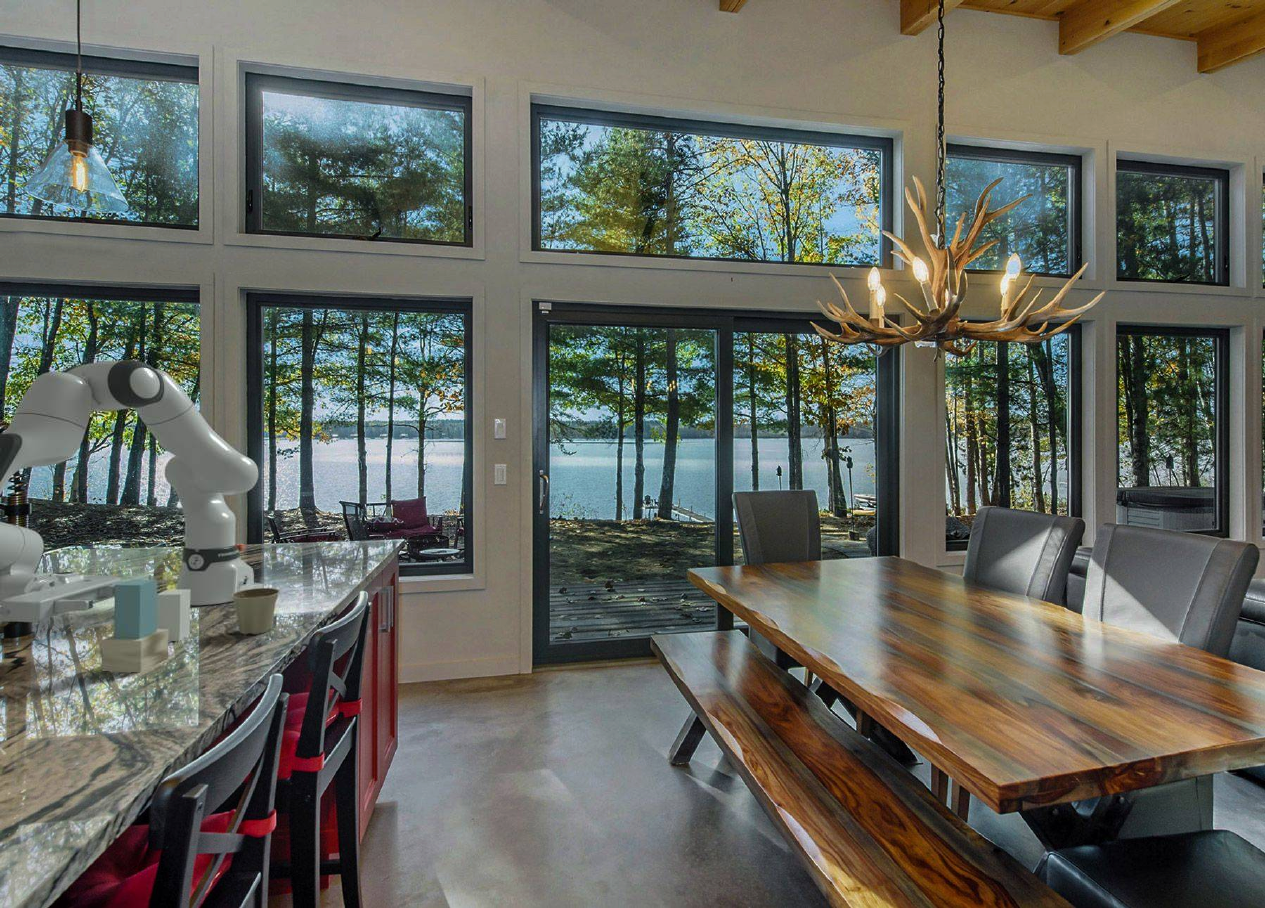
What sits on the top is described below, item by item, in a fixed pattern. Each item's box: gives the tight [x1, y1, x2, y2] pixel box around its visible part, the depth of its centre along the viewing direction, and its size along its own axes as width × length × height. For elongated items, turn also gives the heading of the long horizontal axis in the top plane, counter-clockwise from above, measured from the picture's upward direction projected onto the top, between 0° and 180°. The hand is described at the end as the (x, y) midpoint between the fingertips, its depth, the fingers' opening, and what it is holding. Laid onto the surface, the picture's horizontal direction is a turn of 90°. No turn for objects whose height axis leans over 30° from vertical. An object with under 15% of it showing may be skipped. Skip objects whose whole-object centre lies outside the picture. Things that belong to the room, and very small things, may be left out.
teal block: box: [113, 578, 158, 639], centre depth 117 cm, size 4×4×10 cm
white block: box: [157, 589, 191, 642], centre depth 133 cm, size 4×4×10 cm
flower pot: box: [231, 587, 281, 635], centre depth 140 cm, size 9×9×9 cm
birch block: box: [101, 629, 169, 673], centre depth 117 cm, size 7×7×6 cm
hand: (110, 598), depth 117 cm, fingers open, 8 cm apart
